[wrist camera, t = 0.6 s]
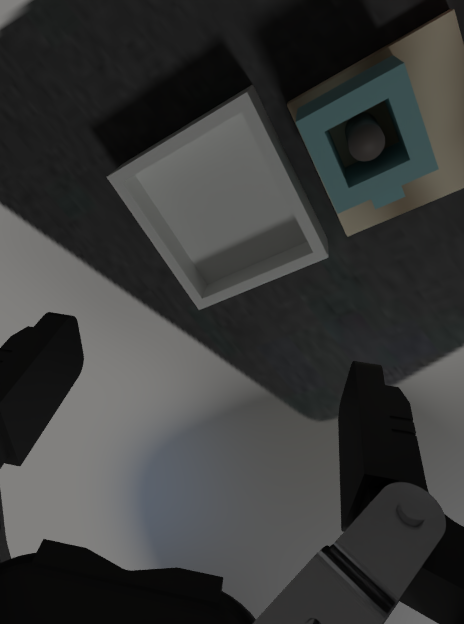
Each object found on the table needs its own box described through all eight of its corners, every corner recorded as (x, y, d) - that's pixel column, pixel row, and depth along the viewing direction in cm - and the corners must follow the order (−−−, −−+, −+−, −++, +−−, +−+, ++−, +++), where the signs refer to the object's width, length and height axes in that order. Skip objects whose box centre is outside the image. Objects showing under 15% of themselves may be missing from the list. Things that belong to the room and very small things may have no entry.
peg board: (449, 9, 25) (473, 10, 21) (492, 169, 29) (517, 192, 26) (287, 102, 29) (283, 116, 25) (346, 230, 33) (350, 259, 29)
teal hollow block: (392, 55, 26) (404, 62, 22) (433, 177, 29) (448, 199, 26) (297, 108, 28) (295, 122, 25) (346, 216, 31) (349, 240, 28)
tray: (252, 84, 28) (247, 91, 26) (327, 238, 34) (328, 257, 31) (122, 164, 33) (106, 177, 30) (206, 290, 38) (198, 309, 36)
